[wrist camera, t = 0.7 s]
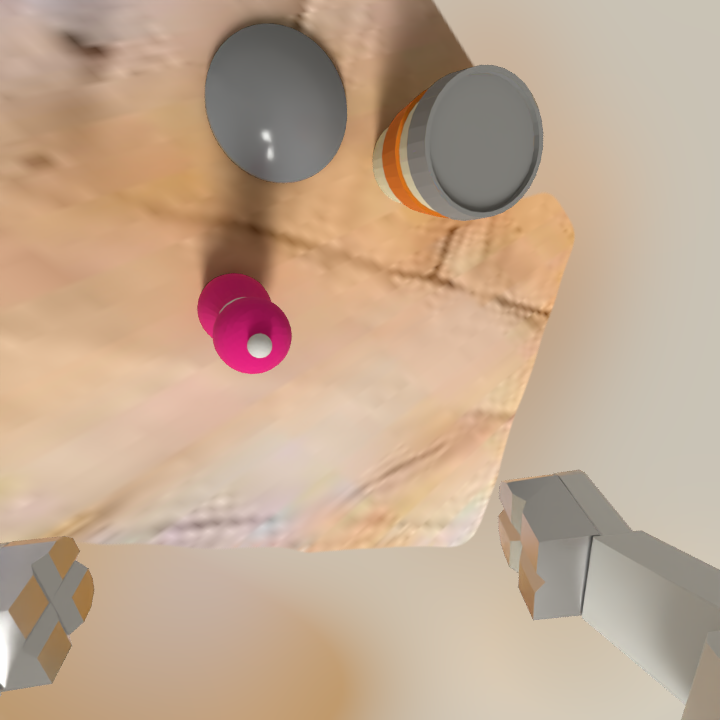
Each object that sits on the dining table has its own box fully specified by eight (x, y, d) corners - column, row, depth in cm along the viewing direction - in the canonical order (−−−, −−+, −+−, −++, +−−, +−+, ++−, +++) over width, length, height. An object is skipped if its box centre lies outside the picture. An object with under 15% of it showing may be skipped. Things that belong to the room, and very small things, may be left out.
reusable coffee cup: (452, 220, 58) (537, 220, 44) (357, 220, 53) (418, 220, 40) (459, 106, 54) (553, 69, 41) (357, 96, 50) (424, 51, 36)
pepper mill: (236, 255, 50) (272, 276, 32) (277, 309, 53) (330, 355, 35) (180, 296, 49) (184, 341, 31) (225, 348, 52) (252, 416, 34)
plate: (194, 22, 43) (194, 16, 42) (339, 33, 47) (343, 29, 46) (215, 185, 47) (216, 184, 46) (346, 181, 52) (350, 180, 51)
